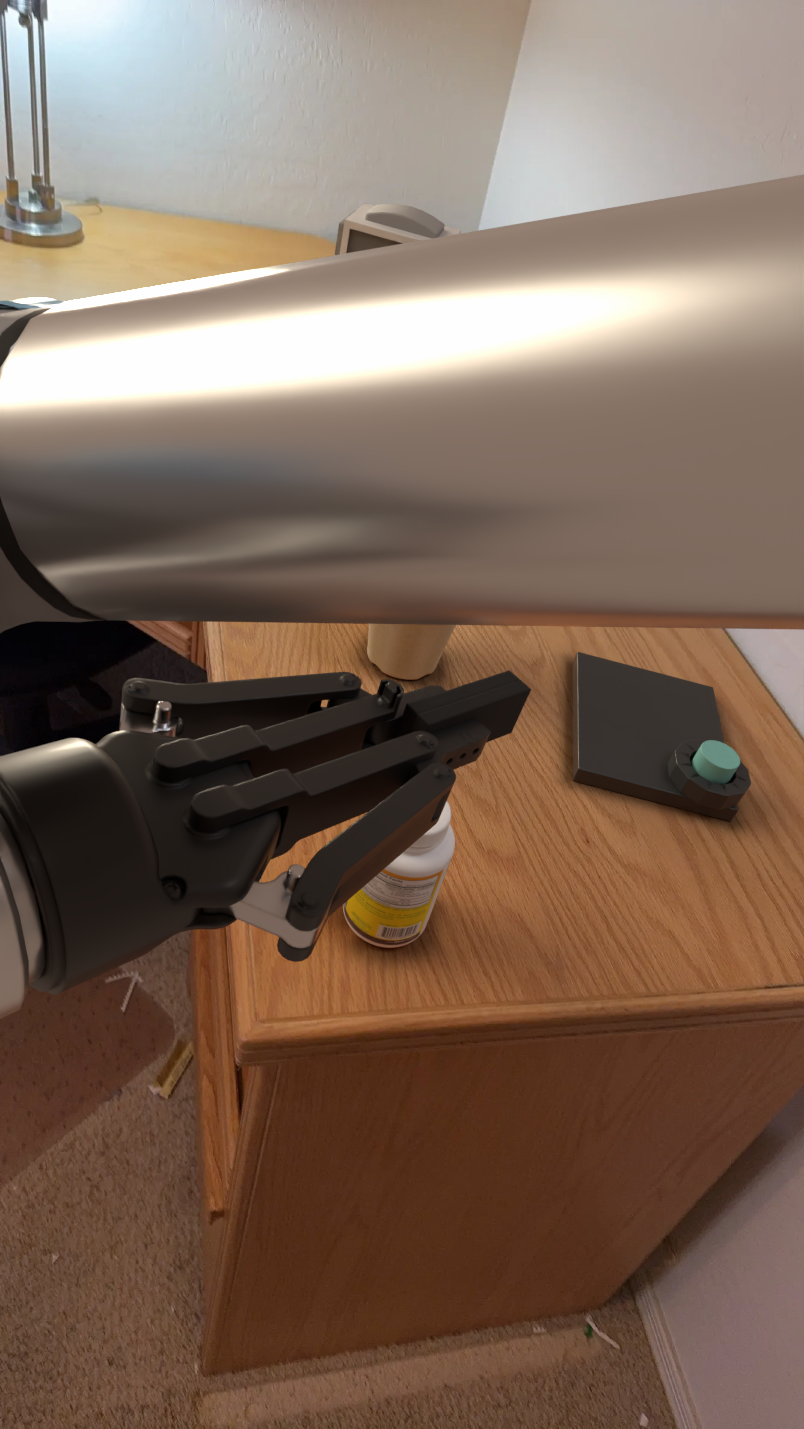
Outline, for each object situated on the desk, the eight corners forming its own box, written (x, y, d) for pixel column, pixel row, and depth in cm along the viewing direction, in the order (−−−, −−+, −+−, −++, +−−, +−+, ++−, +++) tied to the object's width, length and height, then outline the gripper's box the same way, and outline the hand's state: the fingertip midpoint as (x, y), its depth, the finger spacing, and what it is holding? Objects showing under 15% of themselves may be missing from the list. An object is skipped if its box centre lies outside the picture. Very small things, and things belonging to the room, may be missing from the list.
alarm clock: (445, 344, 142) (475, 219, 130) (433, 370, 131) (464, 237, 120) (336, 313, 142) (356, 185, 130) (315, 336, 132) (334, 200, 120)
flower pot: (334, 627, 78) (350, 543, 72) (430, 623, 81) (452, 542, 76) (368, 697, 71) (388, 611, 66) (470, 688, 75) (498, 606, 70)
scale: (738, 829, 69) (756, 803, 67) (572, 785, 69) (585, 758, 67) (712, 699, 82) (726, 675, 80) (572, 662, 81) (583, 637, 79)
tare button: (733, 788, 68) (743, 773, 67) (693, 778, 68) (703, 762, 67) (727, 761, 71) (737, 745, 70) (689, 751, 71) (698, 735, 70)
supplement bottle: (378, 865, 59) (410, 757, 52) (443, 916, 57) (485, 810, 50) (322, 912, 55) (349, 802, 48) (389, 969, 53) (427, 862, 46)
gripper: (-73, 824, 32) (404, 681, 47) (84, 1124, 26) (579, 849, 40) (-89, 663, 28) (444, 561, 42) (96, 978, 21) (649, 728, 36)
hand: (510, 701), depth 41 cm, fingers closed
